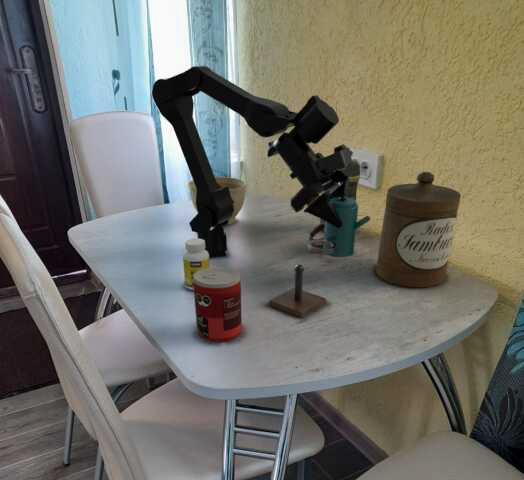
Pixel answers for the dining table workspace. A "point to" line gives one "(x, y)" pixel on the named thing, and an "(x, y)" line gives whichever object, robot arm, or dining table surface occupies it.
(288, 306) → the wooden peg stand
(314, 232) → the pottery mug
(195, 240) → the supplement bottle
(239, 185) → the planter bowl
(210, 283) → the canned food
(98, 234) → the dining table surface
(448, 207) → the wooden container
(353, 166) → the coffee jar
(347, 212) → the kettle
